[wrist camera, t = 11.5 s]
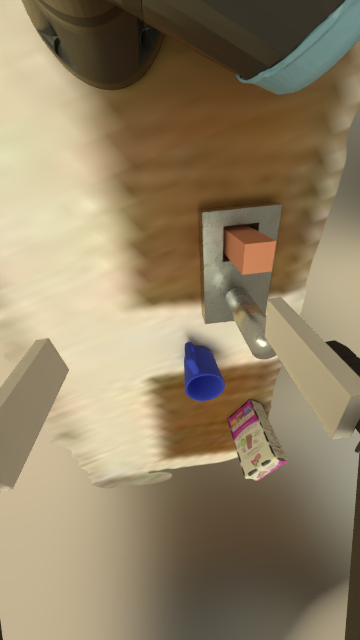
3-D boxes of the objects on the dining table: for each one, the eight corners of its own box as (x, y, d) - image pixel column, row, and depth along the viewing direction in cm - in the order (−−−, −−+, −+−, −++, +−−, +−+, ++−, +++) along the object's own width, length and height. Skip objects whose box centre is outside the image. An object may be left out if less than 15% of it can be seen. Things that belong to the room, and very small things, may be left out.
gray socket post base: (198, 209, 35) (226, 231, 20) (270, 201, 36) (352, 218, 20) (201, 313, 46) (222, 378, 31) (257, 307, 46) (304, 368, 31)
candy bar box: (238, 422, 70) (257, 481, 56) (226, 418, 68) (243, 478, 55) (262, 402, 65) (289, 462, 51) (250, 398, 63) (274, 458, 50)
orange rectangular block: (221, 226, 37) (244, 244, 27) (245, 224, 37) (276, 240, 27) (221, 250, 39) (242, 274, 29) (243, 248, 39) (271, 271, 29)
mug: (201, 324, 48) (209, 355, 39) (219, 360, 54) (230, 392, 46) (168, 338, 49) (169, 371, 41) (189, 371, 56) (194, 405, 47)
